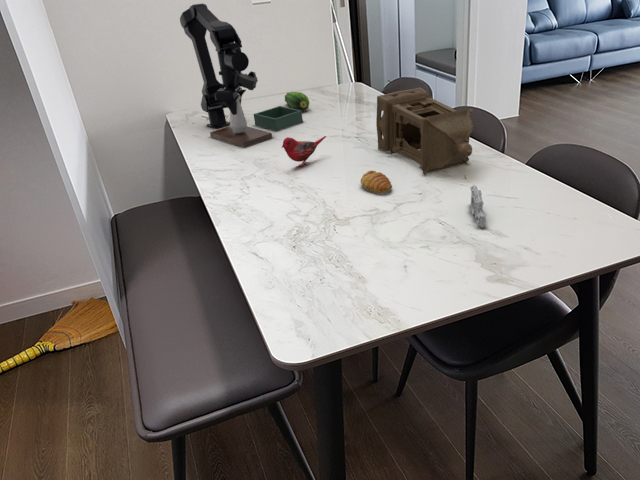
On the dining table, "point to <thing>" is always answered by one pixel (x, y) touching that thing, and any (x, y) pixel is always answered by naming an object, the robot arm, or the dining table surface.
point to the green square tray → (278, 118)
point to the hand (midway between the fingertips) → (237, 114)
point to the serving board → (241, 136)
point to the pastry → (376, 182)
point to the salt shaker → (238, 119)
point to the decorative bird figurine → (299, 149)
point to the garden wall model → (477, 206)
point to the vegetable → (297, 100)
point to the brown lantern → (423, 129)
